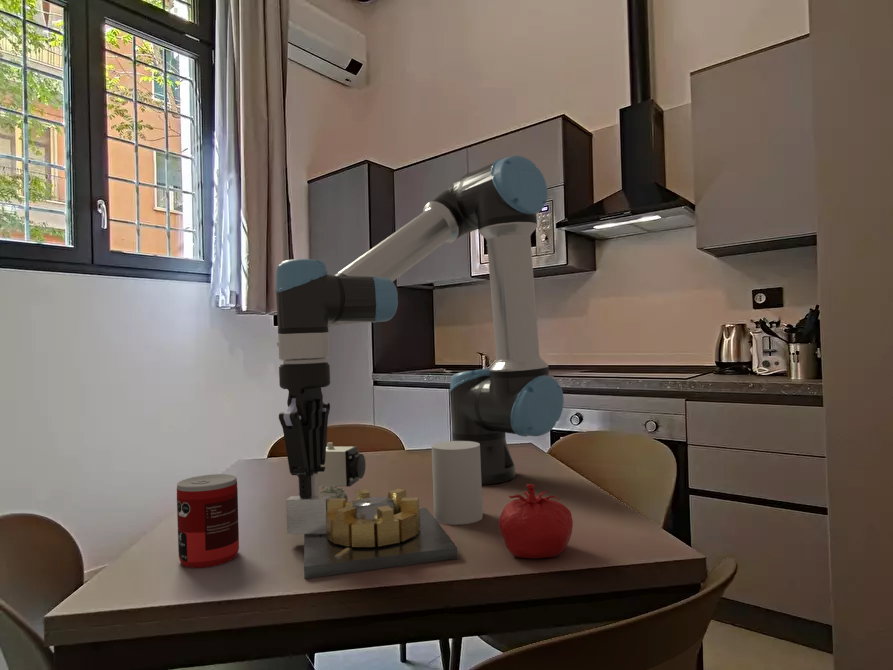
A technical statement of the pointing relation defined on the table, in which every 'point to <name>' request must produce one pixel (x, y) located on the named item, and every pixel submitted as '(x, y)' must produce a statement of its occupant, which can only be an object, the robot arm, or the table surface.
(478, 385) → the robot arm
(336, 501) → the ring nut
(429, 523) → the base plate
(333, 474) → the pneumatic valve
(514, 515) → the red tomato
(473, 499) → the white cylinder
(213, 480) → the canned food
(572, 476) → the table surface
